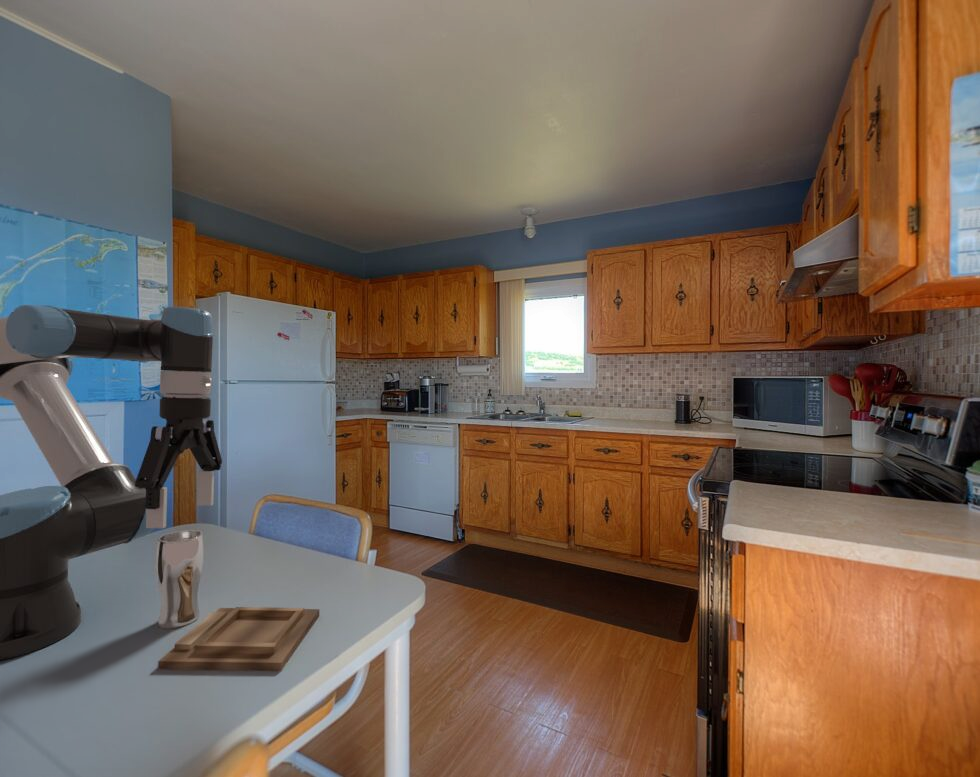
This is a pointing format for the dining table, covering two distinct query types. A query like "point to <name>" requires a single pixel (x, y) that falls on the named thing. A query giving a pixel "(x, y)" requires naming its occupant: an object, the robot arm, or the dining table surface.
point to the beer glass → (179, 576)
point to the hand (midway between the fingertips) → (182, 515)
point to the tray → (242, 639)
